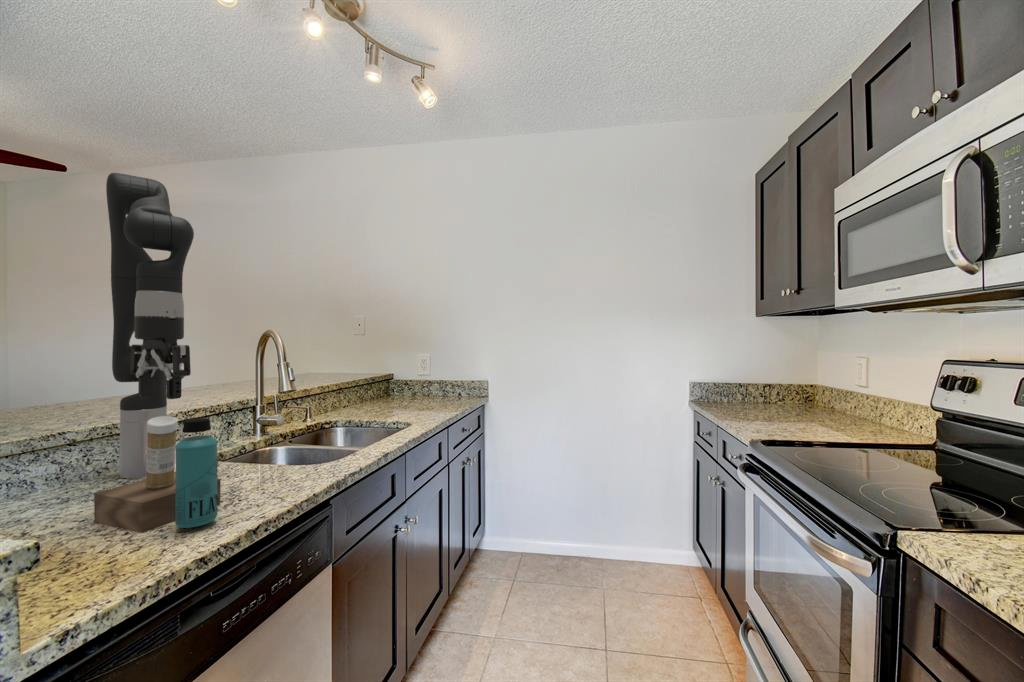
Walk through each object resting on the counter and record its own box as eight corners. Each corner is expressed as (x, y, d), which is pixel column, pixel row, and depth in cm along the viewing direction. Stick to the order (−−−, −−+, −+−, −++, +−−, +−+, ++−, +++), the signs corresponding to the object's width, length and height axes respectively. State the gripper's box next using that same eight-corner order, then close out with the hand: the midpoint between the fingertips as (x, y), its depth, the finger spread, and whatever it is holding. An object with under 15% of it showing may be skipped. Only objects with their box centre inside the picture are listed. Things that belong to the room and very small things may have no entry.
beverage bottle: (183, 540, 73) (183, 423, 73) (167, 531, 76) (167, 419, 76) (225, 526, 78) (225, 418, 78) (208, 518, 82) (208, 414, 82)
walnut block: (94, 525, 80) (94, 493, 80) (175, 499, 93) (175, 471, 93) (142, 537, 75) (142, 503, 75) (220, 507, 88) (220, 478, 88)
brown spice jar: (172, 475, 87) (175, 413, 84) (176, 486, 84) (180, 422, 81) (142, 480, 83) (145, 417, 81) (146, 492, 80) (148, 426, 78)
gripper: (114, 315, 83) (114, 398, 83) (162, 313, 78) (162, 402, 78) (158, 317, 90) (157, 393, 90) (204, 315, 85) (204, 397, 85)
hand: (159, 397), depth 84 cm, fingers open, 8 cm apart
